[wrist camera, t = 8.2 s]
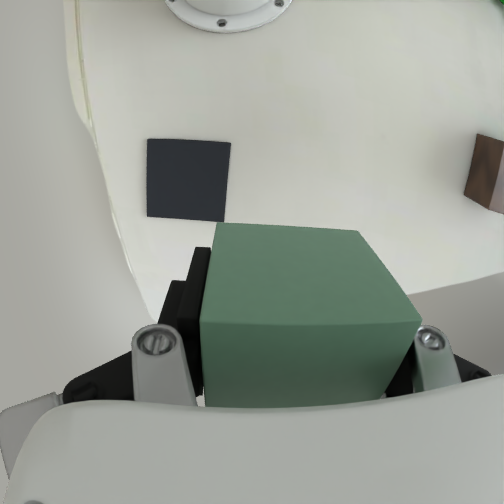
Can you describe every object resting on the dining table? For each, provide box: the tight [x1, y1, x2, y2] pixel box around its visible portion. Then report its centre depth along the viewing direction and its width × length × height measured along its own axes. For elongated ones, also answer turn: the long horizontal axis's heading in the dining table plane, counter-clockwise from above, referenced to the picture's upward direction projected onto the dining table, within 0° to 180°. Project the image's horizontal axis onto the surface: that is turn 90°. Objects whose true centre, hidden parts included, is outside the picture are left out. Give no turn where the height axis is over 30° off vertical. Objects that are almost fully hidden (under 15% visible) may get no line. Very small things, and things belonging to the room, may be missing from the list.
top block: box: [200, 222, 422, 408], centre depth 9 cm, size 5×5×5 cm
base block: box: [464, 134, 504, 214], centre depth 26 cm, size 8×8×5 cm
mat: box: [147, 139, 231, 222], centre depth 28 cm, size 8×8×1 cm
